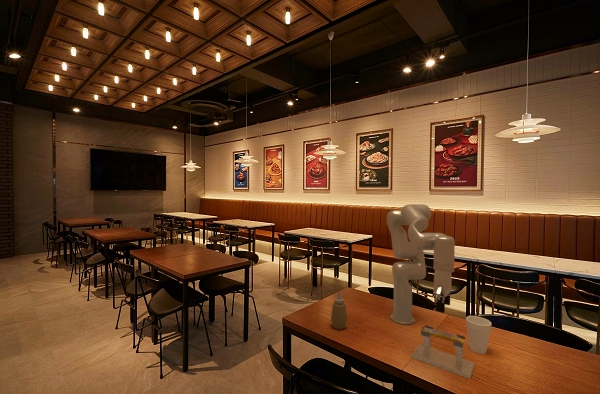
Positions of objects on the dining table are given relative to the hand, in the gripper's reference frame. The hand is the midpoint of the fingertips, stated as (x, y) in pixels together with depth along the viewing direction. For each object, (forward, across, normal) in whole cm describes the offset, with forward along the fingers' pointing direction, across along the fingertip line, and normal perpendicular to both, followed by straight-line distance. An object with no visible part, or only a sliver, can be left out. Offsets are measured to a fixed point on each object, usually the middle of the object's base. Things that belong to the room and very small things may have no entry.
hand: (442, 307), depth 113 cm
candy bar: (+12, 0, 0) cm, 12 cm away
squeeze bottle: (+22, +2, -48) cm, 53 cm away
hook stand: (+22, 0, 0) cm, 22 cm away
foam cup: (+22, -20, +10) cm, 32 cm away
